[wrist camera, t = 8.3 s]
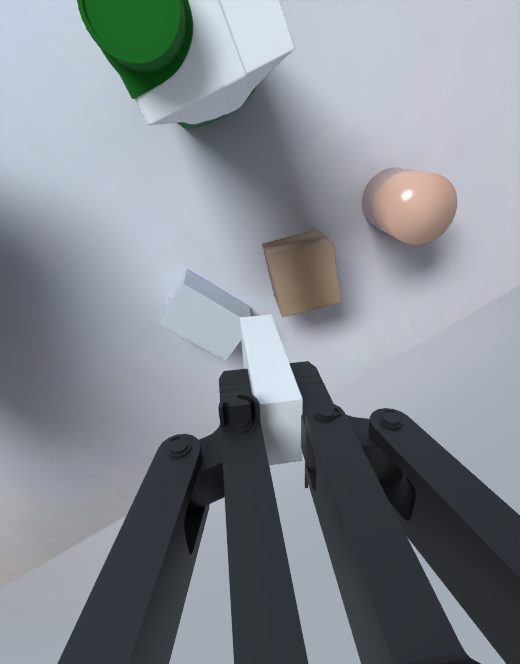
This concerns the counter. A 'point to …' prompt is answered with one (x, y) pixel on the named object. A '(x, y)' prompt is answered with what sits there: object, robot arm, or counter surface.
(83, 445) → the counter surface
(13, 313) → the counter surface
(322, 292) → the walnut cube
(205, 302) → the grey brick
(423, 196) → the peach domed cylinder
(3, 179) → the counter surface
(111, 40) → the milk carton
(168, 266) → the counter surface
